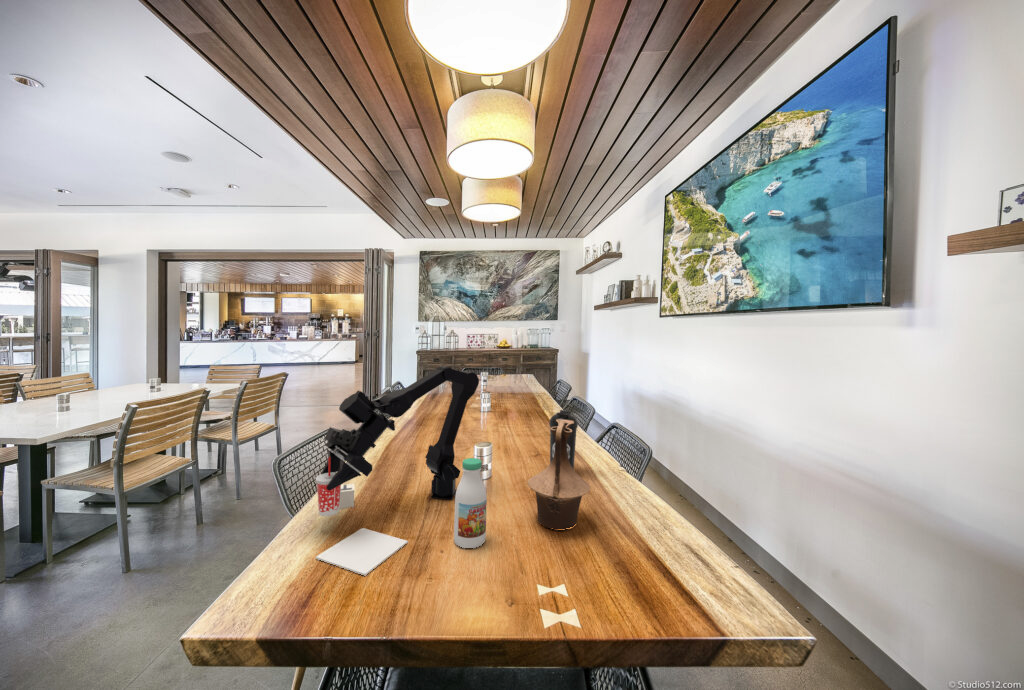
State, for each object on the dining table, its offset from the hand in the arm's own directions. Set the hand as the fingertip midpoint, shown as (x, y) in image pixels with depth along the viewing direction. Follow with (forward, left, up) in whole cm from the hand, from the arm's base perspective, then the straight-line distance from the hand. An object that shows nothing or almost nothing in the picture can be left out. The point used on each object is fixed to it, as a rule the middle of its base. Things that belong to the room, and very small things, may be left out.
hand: (323, 485), depth 97 cm
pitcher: (-58, -17, -12) cm, 61 cm away
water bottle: (-59, -53, -12) cm, 80 cm away
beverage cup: (-1, -1, -7) cm, 7 cm away
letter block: (+3, -15, -12) cm, 20 cm away
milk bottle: (-37, -3, -12) cm, 39 cm away
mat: (-14, +6, -12) cm, 19 cm away
